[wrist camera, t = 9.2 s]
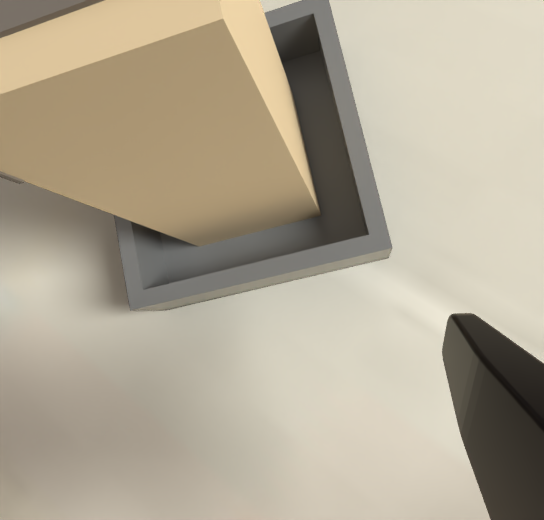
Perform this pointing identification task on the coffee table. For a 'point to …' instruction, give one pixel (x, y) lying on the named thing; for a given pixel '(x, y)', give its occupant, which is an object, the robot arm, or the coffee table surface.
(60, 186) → the kraft box
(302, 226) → the tray
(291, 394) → the coffee table surface
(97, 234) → the coffee table surface
